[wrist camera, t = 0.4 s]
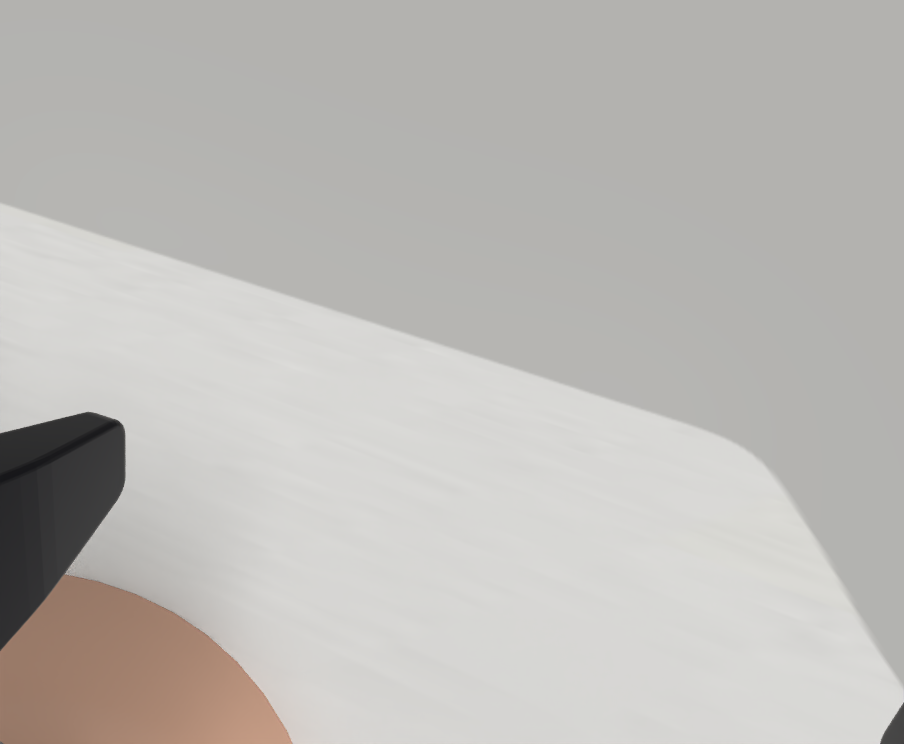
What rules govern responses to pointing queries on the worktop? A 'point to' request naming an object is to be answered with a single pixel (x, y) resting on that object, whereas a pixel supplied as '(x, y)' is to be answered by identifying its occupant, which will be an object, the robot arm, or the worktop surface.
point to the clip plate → (124, 677)
